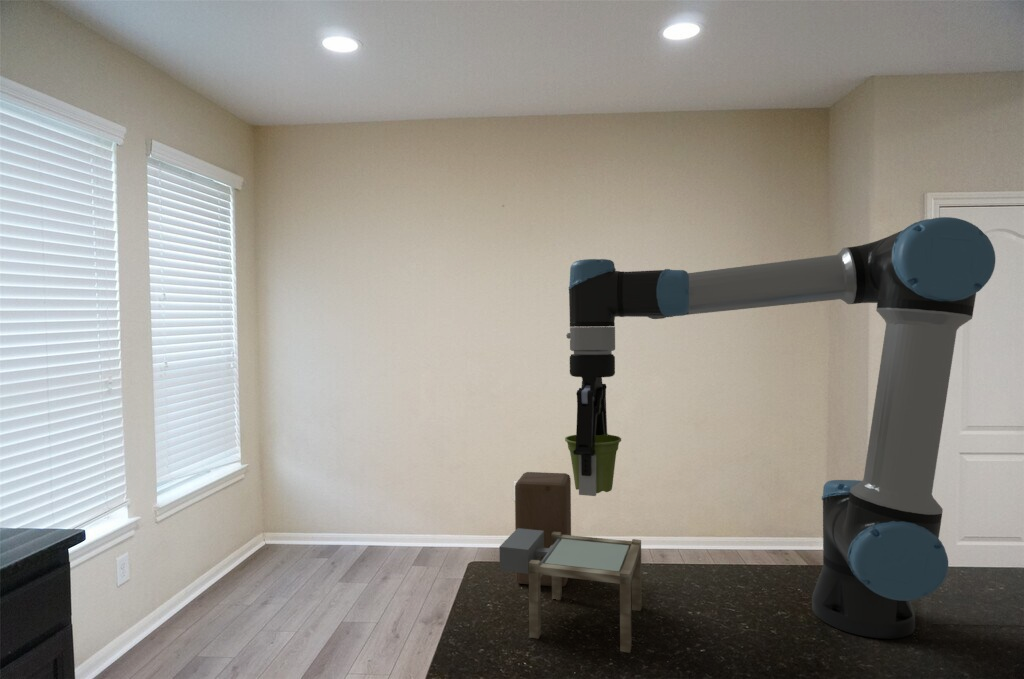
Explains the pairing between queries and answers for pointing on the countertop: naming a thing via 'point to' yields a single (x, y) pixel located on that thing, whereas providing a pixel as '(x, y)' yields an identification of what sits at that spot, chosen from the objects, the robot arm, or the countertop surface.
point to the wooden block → (543, 510)
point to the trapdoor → (559, 553)
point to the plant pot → (598, 460)
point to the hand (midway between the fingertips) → (592, 487)
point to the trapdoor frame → (623, 578)
